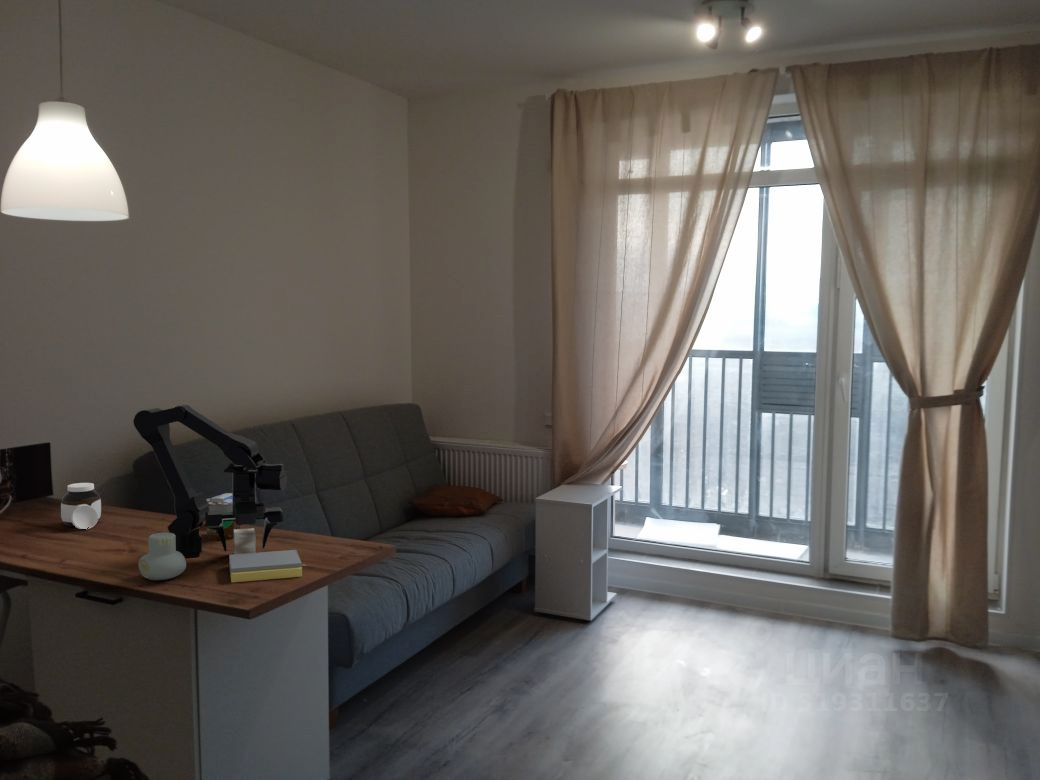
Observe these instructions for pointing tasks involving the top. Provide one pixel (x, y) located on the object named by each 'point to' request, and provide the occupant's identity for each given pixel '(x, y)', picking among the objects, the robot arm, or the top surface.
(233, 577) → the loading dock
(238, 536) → the white milk carton
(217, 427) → the robot arm
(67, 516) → the spread jar
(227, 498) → the medicine box
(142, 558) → the air freshener
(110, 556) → the top surface
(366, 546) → the top surface
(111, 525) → the top surface
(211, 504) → the food container
